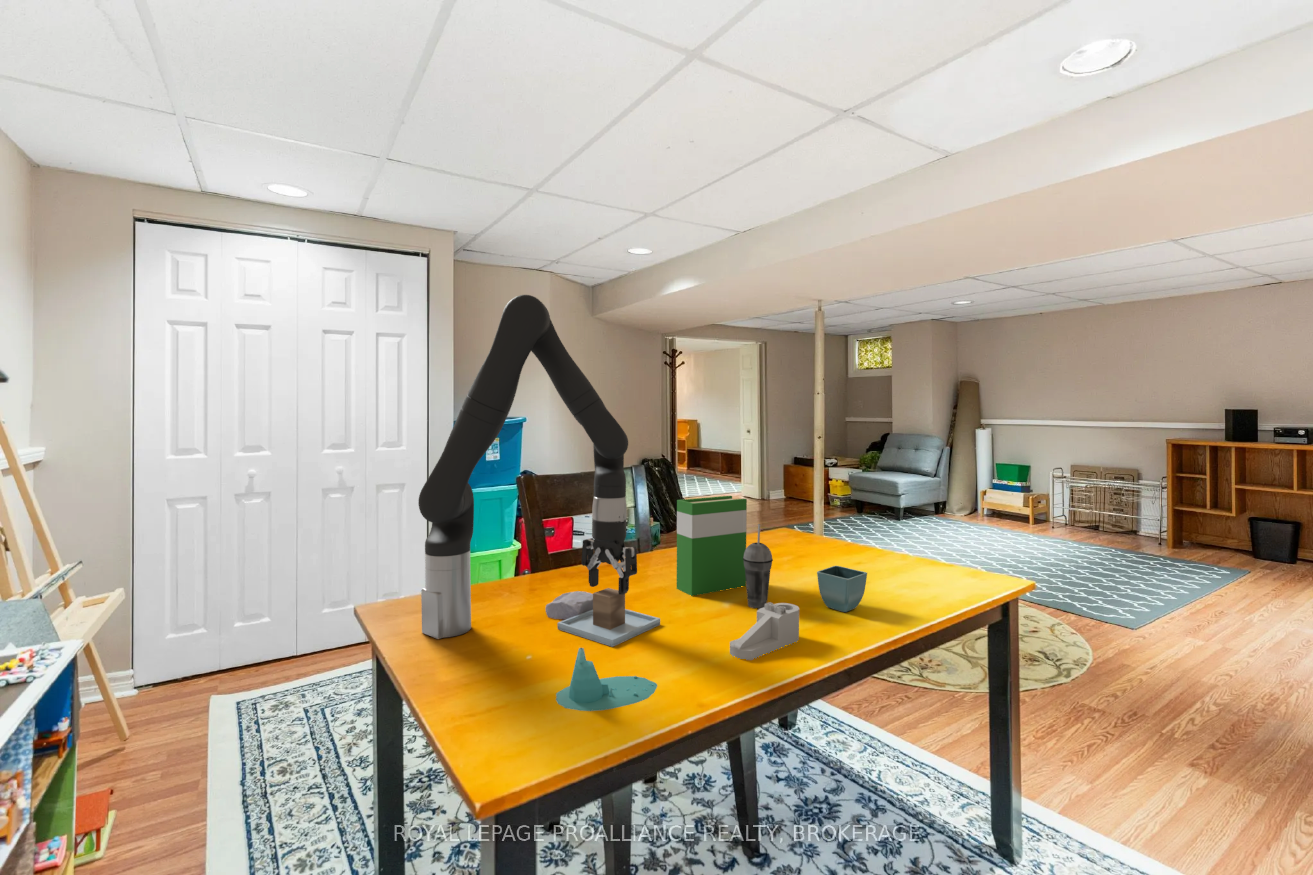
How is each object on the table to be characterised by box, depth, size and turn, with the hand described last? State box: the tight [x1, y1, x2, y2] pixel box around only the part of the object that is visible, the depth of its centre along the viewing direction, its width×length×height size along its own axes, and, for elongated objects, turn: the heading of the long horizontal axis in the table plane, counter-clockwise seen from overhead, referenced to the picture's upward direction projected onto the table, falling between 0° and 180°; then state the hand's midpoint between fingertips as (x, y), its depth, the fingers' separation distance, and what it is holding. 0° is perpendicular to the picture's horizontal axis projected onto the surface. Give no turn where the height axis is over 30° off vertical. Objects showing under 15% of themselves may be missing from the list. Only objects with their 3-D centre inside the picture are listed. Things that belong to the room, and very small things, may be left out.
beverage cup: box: [743, 523, 774, 610], centre depth 145 cm, size 7×7×20 cm
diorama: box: [555, 647, 658, 712], centre depth 100 cm, size 12×20×9 cm, turn 112°
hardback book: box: [676, 495, 748, 597], centre depth 160 cm, size 18×7×24 cm, turn 120°
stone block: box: [545, 590, 593, 620], centre depth 141 cm, size 12×5×10 cm
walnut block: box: [592, 587, 626, 630], centre depth 131 cm, size 5×5×7 cm
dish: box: [557, 608, 661, 648], centre depth 131 cm, size 16×16×1 cm
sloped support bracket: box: [729, 601, 800, 661], centre depth 121 cm, size 6×18×8 cm, turn 130°
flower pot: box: [816, 565, 868, 613], centre depth 144 cm, size 9×9×9 cm
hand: (608, 589), depth 131 cm, fingers open, 8 cm apart
